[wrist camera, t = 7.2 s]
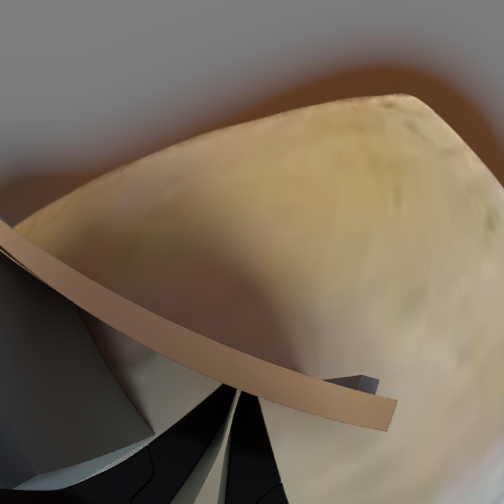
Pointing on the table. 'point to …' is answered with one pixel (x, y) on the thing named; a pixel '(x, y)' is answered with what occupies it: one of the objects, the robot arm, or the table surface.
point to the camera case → (55, 391)
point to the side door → (207, 347)
